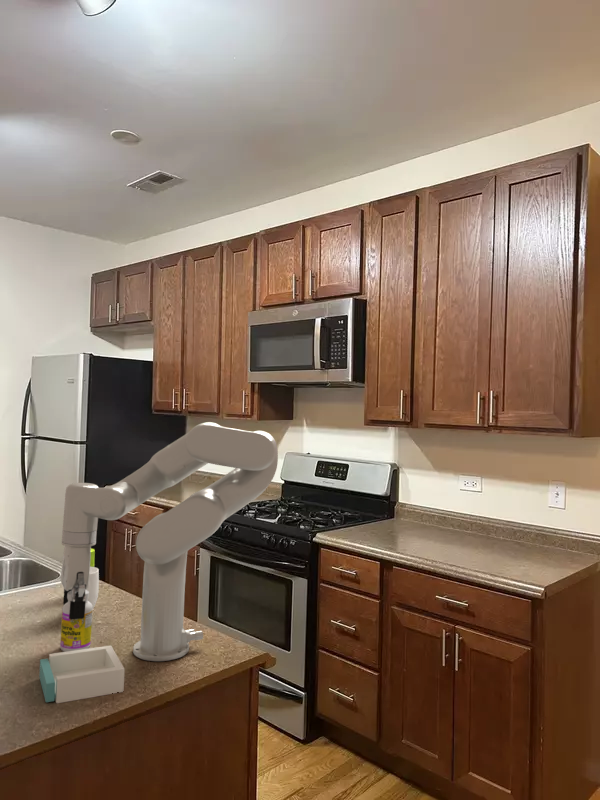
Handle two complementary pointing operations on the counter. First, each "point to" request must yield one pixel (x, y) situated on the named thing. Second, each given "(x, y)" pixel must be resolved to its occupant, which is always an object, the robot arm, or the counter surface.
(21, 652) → the counter surface
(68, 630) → the supplement bottle
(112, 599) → the counter surface
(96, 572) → the mug
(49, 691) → the gate
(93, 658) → the housing
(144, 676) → the counter surface
